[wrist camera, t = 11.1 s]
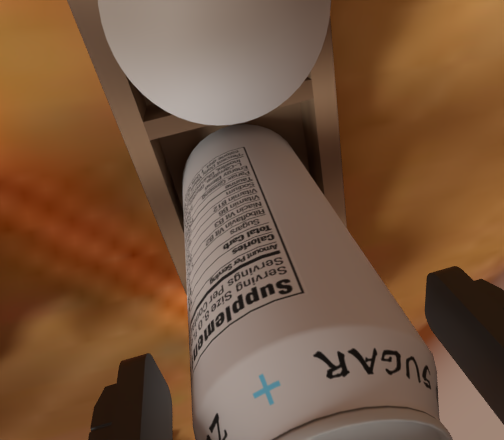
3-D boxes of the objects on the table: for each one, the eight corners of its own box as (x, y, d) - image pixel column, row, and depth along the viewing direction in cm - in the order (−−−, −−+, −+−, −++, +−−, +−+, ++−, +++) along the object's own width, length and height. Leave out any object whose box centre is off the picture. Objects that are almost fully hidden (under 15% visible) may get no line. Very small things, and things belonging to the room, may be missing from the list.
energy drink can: (249, 237, 23) (342, 557, 10) (159, 188, 20) (137, 542, 8) (317, 158, 21) (534, 438, 8) (226, 92, 18) (347, 358, 6)
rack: (339, 293, 28) (403, 414, 21) (208, 329, 28) (221, 466, 20) (292, -157, 15) (424, -316, 7) (41, -100, 15) (-117, -200, 7)
